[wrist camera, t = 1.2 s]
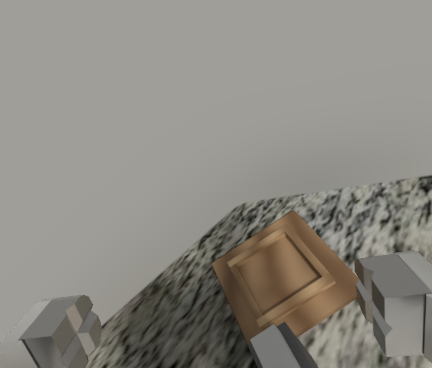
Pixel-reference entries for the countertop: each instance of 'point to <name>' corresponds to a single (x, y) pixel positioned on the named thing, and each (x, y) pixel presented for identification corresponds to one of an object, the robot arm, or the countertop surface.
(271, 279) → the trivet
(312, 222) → the countertop surface
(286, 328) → the capped dark pillar
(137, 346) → the countertop surface
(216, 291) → the countertop surface
